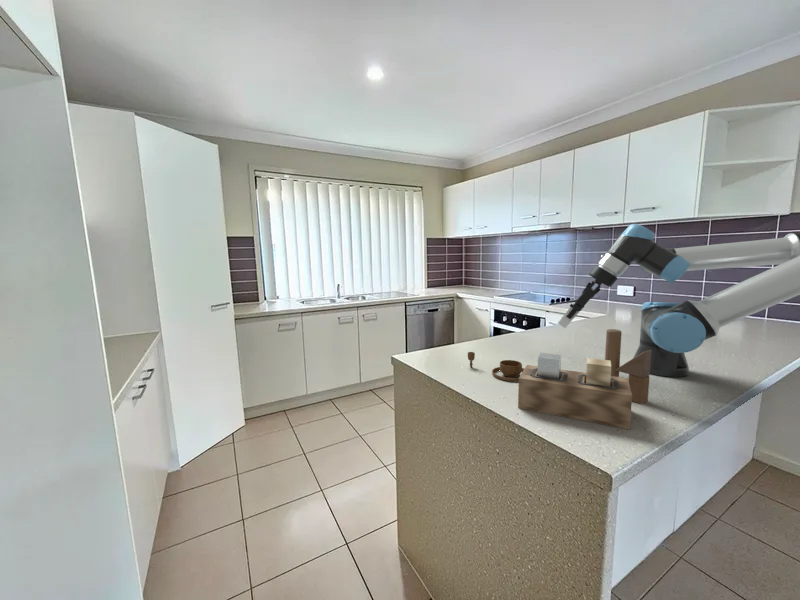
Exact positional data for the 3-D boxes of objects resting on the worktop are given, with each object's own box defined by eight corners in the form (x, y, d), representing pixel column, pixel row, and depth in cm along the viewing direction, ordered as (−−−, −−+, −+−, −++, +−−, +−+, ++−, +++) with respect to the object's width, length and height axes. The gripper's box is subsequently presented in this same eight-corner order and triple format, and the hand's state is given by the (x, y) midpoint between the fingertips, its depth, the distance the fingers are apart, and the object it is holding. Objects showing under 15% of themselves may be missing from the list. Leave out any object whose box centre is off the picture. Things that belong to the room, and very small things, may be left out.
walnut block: (625, 408, 85) (627, 377, 84) (629, 429, 74) (632, 394, 73) (526, 391, 97) (526, 364, 96) (518, 407, 86) (518, 377, 85)
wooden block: (641, 404, 87) (645, 337, 85) (599, 390, 96) (603, 329, 94) (648, 401, 89) (653, 335, 86) (607, 388, 98) (610, 328, 96)
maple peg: (608, 387, 83) (610, 360, 82) (609, 395, 79) (611, 366, 78) (586, 384, 85) (587, 358, 85) (585, 391, 81) (586, 363, 80)
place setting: (499, 387, 102) (500, 369, 101) (464, 368, 120) (464, 352, 119) (544, 379, 108) (544, 361, 107) (504, 362, 126) (504, 347, 126)
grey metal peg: (560, 380, 88) (561, 355, 88) (558, 386, 84) (559, 360, 83) (539, 377, 91) (540, 352, 90) (537, 383, 87) (538, 357, 86)
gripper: (596, 264, 117) (557, 311, 125) (596, 263, 96) (549, 320, 104) (616, 276, 115) (575, 324, 122) (621, 278, 93) (570, 336, 101)
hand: (563, 322), depth 113 cm, fingers open, 13 cm apart
